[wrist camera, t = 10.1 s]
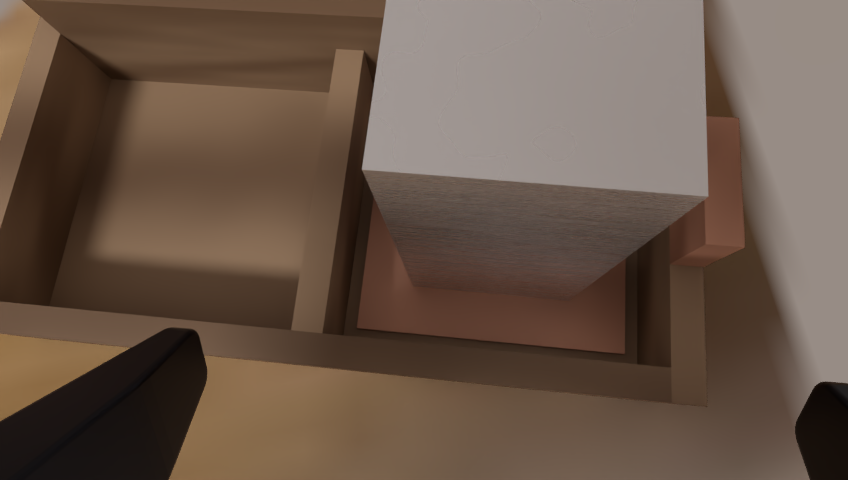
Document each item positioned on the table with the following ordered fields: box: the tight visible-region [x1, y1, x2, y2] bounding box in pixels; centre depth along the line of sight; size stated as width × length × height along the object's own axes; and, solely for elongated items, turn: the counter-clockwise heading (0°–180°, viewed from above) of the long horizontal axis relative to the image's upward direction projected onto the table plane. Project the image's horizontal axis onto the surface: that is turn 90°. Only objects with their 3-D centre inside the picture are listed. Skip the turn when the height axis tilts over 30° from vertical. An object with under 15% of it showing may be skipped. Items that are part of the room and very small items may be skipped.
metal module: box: [362, 0, 708, 301], centre depth 12 cm, size 4×4×9 cm
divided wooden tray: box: [0, 0, 745, 407], centre depth 15 cm, size 10×19×5 cm, turn 84°
